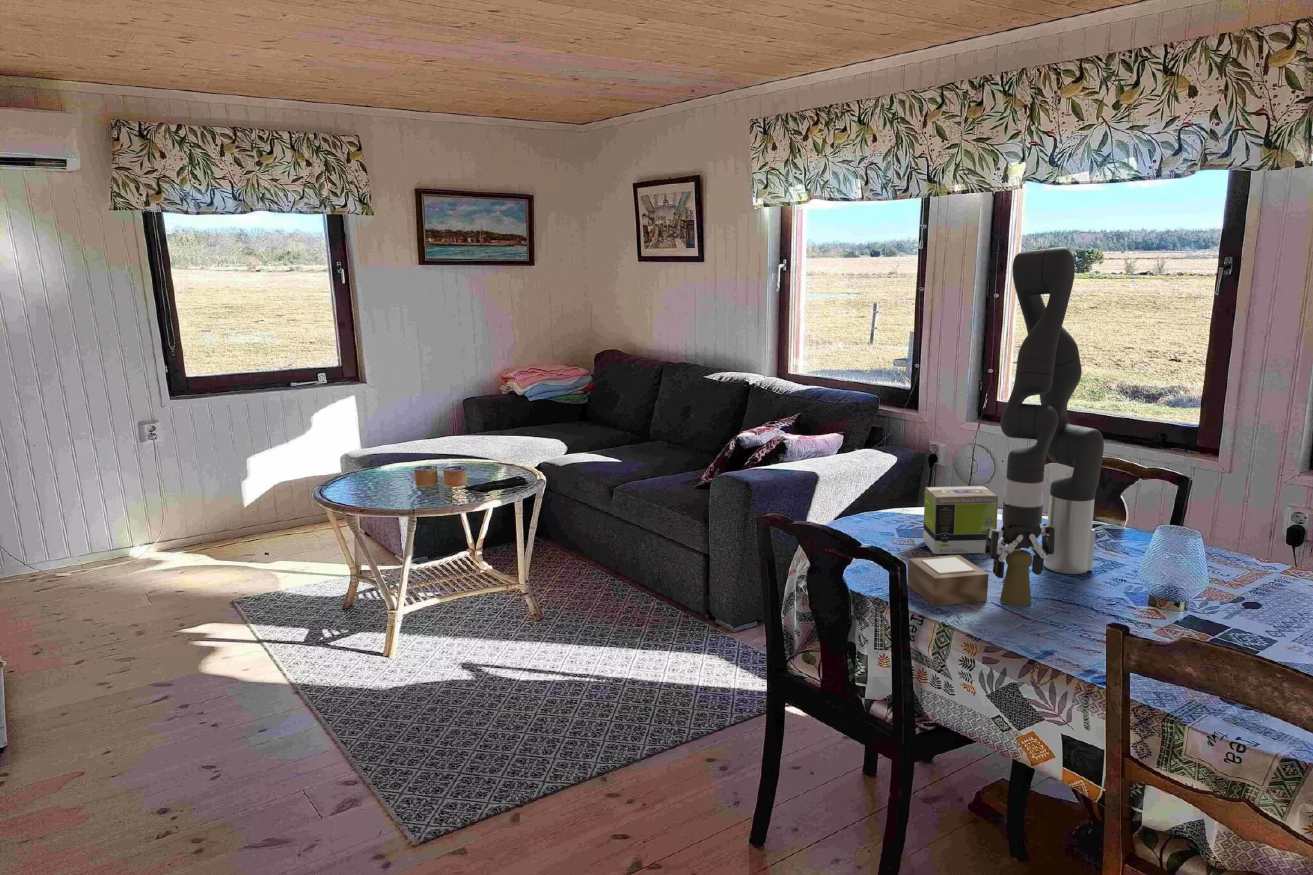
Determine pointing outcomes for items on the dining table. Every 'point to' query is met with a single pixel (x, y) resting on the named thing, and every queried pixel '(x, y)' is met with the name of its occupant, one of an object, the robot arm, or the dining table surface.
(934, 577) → the block
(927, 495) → the tea box
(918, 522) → the dining table surface
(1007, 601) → the cork
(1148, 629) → the dining table surface
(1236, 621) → the dining table surface
